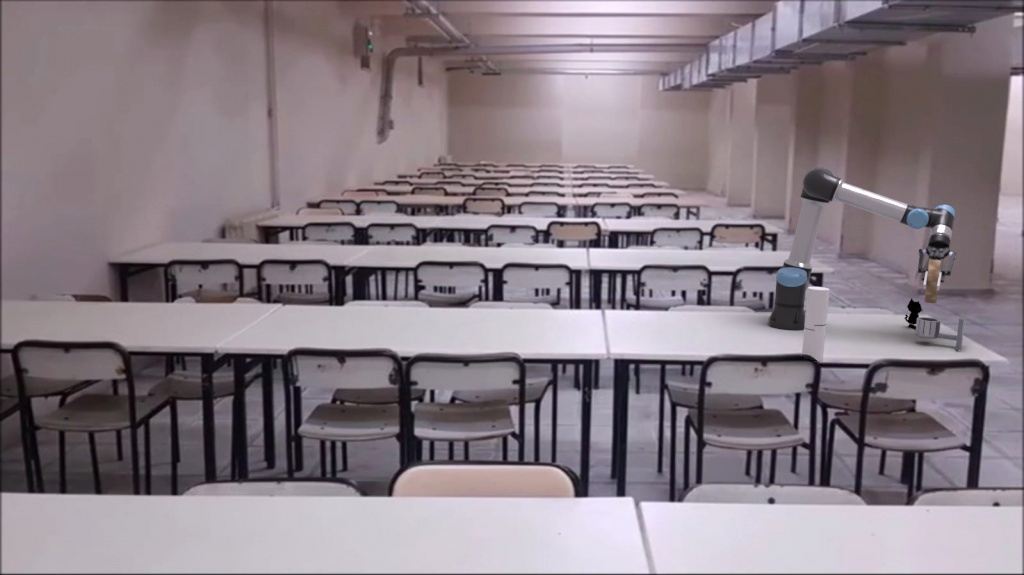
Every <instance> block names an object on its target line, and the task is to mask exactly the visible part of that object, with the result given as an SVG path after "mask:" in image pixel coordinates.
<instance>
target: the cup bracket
mask: <svg viewBox="0 0 1024 575" xmlns="http://www.w3.org/2000/svg"><path fill="white" fill-rule="evenodd" d="M966 315H967V314H966V313H965V314H964V313H960V316H959V319H958V325H957V334H950V333H944V332H942V333H941V332H940V331H941V323H942V321H941V319H938V318H935V317H926V316H924V317H923V316H919V317H918V318H917V322H916V324H915V326H916V329H915V336H916V337H918V338H922V339H930V340H931V339H933V340H935V339H941V340H948V341H949V340H950V341H956V342H955V349H954V350H960V351H961V348H962V347H961V346H963V339H964V331H965V322H966Z"/></svg>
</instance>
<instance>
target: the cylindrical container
mask: <svg viewBox="0 0 1024 575" xmlns="http://www.w3.org/2000/svg"><path fill="white" fill-rule="evenodd" d="M806 291H807V293H806V302H805V325H804V329H803V340H802V348H801V355H802V354H808V355H811V356H813V357H814V358H815V359H816V360H817V361H816V362H821V361H823V360H824V351H825V340H826V331H827V319H828V310H829V308H828V307H829V299H830V298H829V297H830V288H828V287H823V286H808V288H807V290H806Z"/></svg>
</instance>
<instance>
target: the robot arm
mask: <svg viewBox="0 0 1024 575" xmlns="http://www.w3.org/2000/svg"><path fill="white" fill-rule="evenodd" d="M800 199H801V201H802V205H801V209H800V212H799V216H798V222H797V225H796V229H795V232H794V236H793V240H792V245H791V248H790V253H789V256H788V258H786V259H785V260H784V261H783V265H782V267H781V268H779V269H778V270H777V272H776V276H775V278H776V283H775V293H774V294H775V295H774V296H775V297H774V305H773V309H772V311H771V313H770V316H769V318H768V323H767V325H769V326H770V327H772V328H776V329H782V330H790V331H791V330H793V331H799V330H800V331H801V330H804V325H805V314H806V310H805V303H806V302H805V300H806V291H807V290H808V287H809V285H810V280H811V279H810V278H811V274H812V270H813V266H812V265H811V260H812V257H813V256H812V255H813V252H814V247H815V244H816V240H817V236H818V233H819V228H820V225H821V220H822V218H823V216H822V215H823V213H824V209H825V207H826V206H828V205H830V203H831V202H832V203H834V202H836V201H837V202H840V203H843V204H844V205H845V204H846V205H848V206H851V207H853V208H856V209H860V210H862V211H866V212H868V213H871V214H873V215H877V216H881V217H882V218H886V219H888V220H891V221H894V222H897V223H899V224H903V225H906V226H908V227H910V228H912V229H914V230H915V229H916V230H919V229H922V228H928V229H929V228H930V233H929V239H928V244H927V247H926V248H925V249H922V248H919V249H918V256H919V257H918V266H917V272H918V274H921V281H923V285H922V286H923V289H924V290H926V285H927V276H928V266H929V260H940V261H941V264H940V272H939V278H938V283H937V290H938V291H940V288H941V287H940V286H941V283H944V282H945V278H946V277H947V276H948V277H949V276H951V275H952V270H953V266H954V261H955V260H956V259H957V252H956V251H951V250H950V247H951V240H952V236H953V230H954V229H953V228H954V225H955V224H954V223H955V220H956V218H955V216H956V211H955V209H954V208H953V207H952V206H951V205H948V204H940V205H937V206H935V208H929V207H923V206H917V205H914V204H908V203H905V202H902V201H900V200H897V199H892V198H891V197H887V196H885V195H882V194H878V193H876V192H872V191H870V190H867V189H864V188H861V187H859V186H855V185H853V184H850V183H848V182H847V183H846V182H845V181H844V180H843V179H842V178H841V177H838V176H835V174H834V173H833V172H832V171H831V170H830V169H828V168H825V167H813V168H812V169H811V170H809V171H808V172H807V173H806V174H805V175H804V177H803V179H802V190H801V192H800ZM926 254H927V256H928V258H927V260H926V262H925V264H924V266H923V263H924V257H925V255H926ZM948 256H949V261H948V266H947V270H946V266H945V264H946V263H945V258H947V257H948Z"/></svg>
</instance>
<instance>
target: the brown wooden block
mask: <svg viewBox="0 0 1024 575" xmlns="http://www.w3.org/2000/svg"><path fill="white" fill-rule="evenodd" d="M940 264H941V261H940V260H937V259H936V260H929V266H928V276H927V284H926V289H925V296H924V297H925V298H924V302H925V303H928V304H936V303H937V298H938V291H939V290H937V283H938V278H939V272H941V265H940Z"/></svg>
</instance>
